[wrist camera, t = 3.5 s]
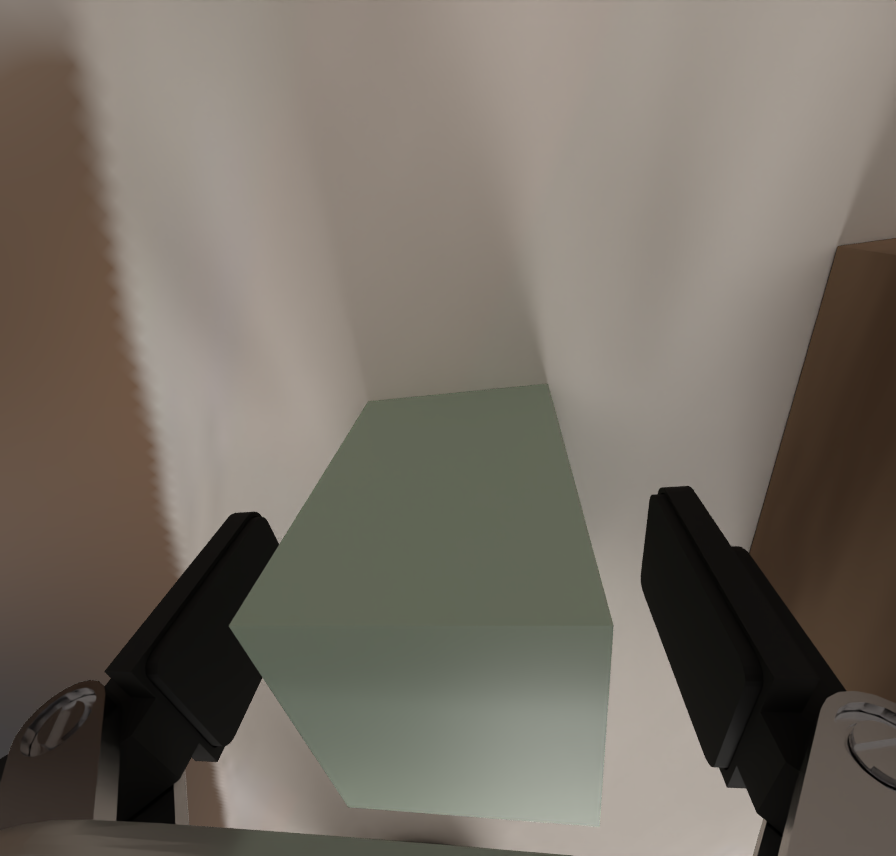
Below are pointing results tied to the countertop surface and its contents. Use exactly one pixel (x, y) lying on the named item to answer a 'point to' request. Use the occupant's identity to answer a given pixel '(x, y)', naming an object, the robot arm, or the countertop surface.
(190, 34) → the countertop surface
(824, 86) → the countertop surface
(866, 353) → the walnut riser
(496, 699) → the sage block
